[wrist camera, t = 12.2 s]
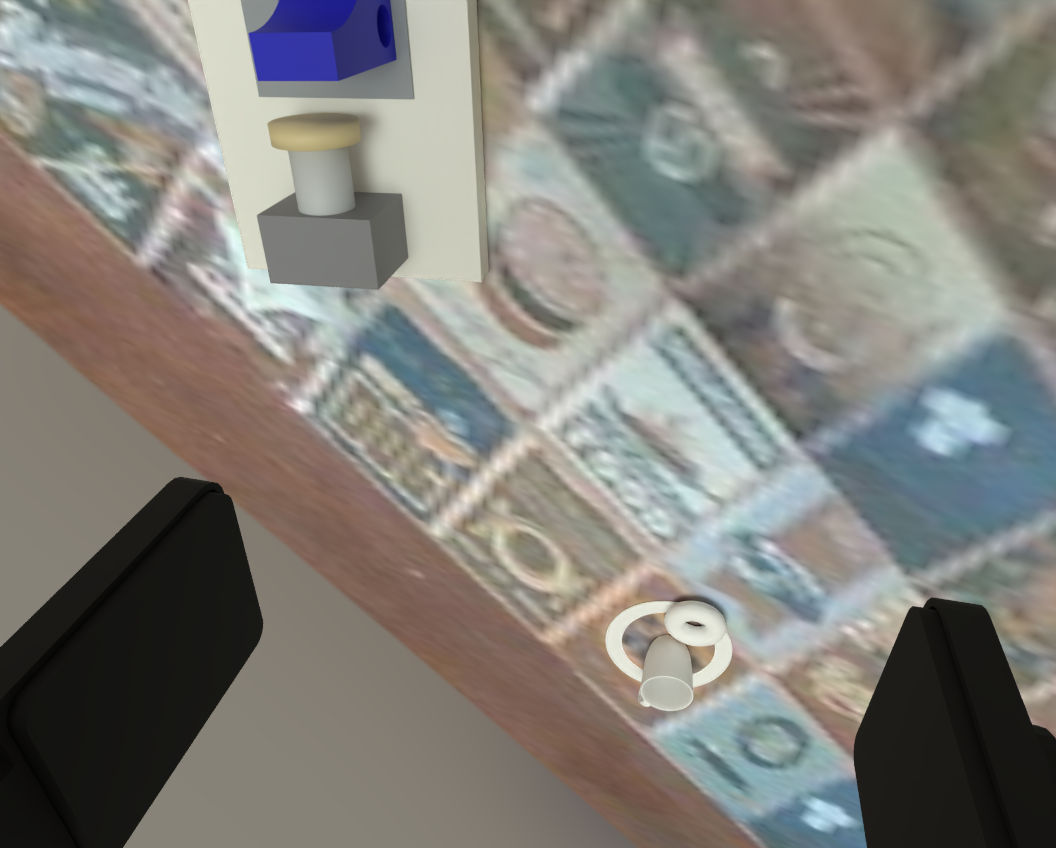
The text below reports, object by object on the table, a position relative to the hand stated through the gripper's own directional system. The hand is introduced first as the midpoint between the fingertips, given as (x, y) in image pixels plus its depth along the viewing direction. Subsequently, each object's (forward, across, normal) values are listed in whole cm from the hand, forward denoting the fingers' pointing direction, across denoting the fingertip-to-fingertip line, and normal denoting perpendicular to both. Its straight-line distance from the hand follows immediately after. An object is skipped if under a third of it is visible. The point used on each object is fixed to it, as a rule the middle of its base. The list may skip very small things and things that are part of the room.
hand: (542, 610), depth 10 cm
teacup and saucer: (+27, -7, +30) cm, 41 cm away
